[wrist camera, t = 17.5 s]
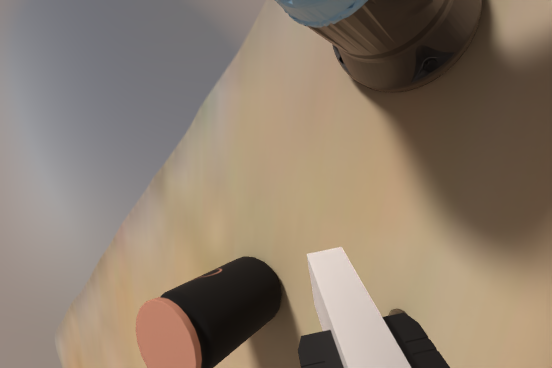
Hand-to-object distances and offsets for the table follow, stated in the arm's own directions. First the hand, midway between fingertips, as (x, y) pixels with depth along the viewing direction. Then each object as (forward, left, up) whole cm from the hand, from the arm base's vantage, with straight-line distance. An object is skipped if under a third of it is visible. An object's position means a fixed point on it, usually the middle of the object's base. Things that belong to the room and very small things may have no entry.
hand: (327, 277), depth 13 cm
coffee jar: (-19, -22, -27) cm, 40 cm away
